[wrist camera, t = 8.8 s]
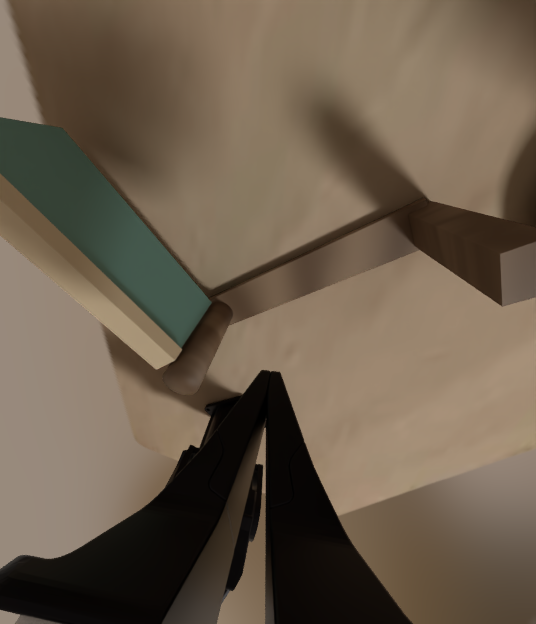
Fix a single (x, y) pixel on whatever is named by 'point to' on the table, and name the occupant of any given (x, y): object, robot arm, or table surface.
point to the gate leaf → (93, 242)
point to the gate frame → (367, 255)
